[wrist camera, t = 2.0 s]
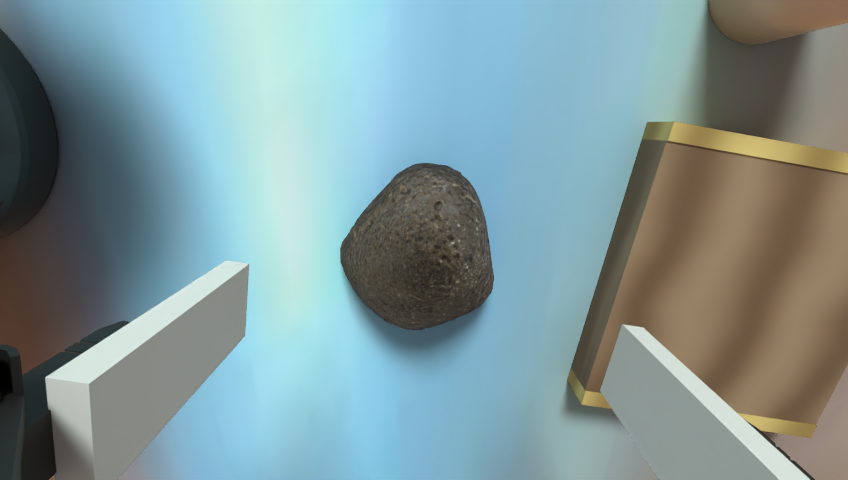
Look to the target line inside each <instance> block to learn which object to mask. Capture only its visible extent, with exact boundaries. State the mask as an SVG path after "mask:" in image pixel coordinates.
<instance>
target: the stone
mask: <svg viewBox="0 0 848 480" xmlns="http://www.w3.org/2000/svg"><path fill="white" fill-rule="evenodd" d="M340 251H341V264H342V267H343V269H344V272H345V275H346V277H347V278H348V280H349V282H350V283H351V285H352V287H353V289H354V290H355V292H356V293H357V294H358V296H359V297H360V299H361V300H362V301H363V302H364V303H365V305H366V306H368V307H369V308H370V309H371V310H372V311H373V312H374V313H375V314H377V315H378V316H379V317H381V318H382V319H384V320H385V321H387V322H388V323H391V324H393V325H396V326H399V327H402V328H405V329H411V330H421V329H425V328H429V327H433V326H437V325H440V324H443V323H445V322H448V321H450V320H453V319H455V318H457V317H459V316H462V315H465V314H467V313H469V312H470V311H472V310H474V309H476V308H478V307H480V306H481V304H482V303H483V302H484V301H485V300H486V299H487V297H488V296H489V295H490V293H491V292H492V289H493V281H494V275H493V269H492V261H491V253H490V246H489V239H488V232H487V226H486V220H485V216H484V213H483V210H482V206H481V203H480V200H479V198H478V195H477V193H476V191H475V189H474V188H473V186H472V185H471V183H470V182H469V181H468V180H467V179H466V178H465V177H464V176H462V174H461V173H460V172H458V171H456V170H454V169H452V168H450V167H448V166H446V165H437V164H431V163H420V164H414V165H412V166H410V167H408V168H406V169H405V170H403V171H401V172H400V173H398V174H397V175H396V176H395V177H394V178H393V179H392V181H391V182H390V183H389V184H388V185H387V186H386V187H385V188H384V189H383V190H382V191H381V192H380V193H379V194H378V195H377V197H376V198H375V199H374V200H373V201H372V202H371V203H370V204H369V205H368V207H367V208H366V209H365V210H364V212H363V213H362V214H361V215H360V217H359V218H358V219H357V221H356V223H355V224H354V226H353V227H352V228H351V230H350V232H349V234H348V235H347V237H346V238H345V239H344V241H343V242H342V245H341V249H340Z"/></svg>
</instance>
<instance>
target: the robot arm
mask: <svg viewBox="0 0 848 480" xmlns="http://www.w3.org/2000/svg"><path fill="white" fill-rule="evenodd" d="M57 153H58V150H57V136H56V129H55V124H54V119H53V116H52V112H51V109H50V106H49V103H48V100H47V98H46V95H45V93H44V90H43V88H42V86H41V84H40V82H39V80H38V78H37V77H36V75H35V73H34V71H33V70H32V68H31V66H30V65H29V63H28V62H27V60H26V59H25V57H24V56H23V55H22V53H21V52H20V51H19V49H18V48H17V47H16V46H15V44H14V43H13V42H12V41H11V40H10V39H9V38H8V36H7V35H6V34H5V33H4V32H3V31H2V30H1V29H0V237H3V236H5V235H7V234H9V233H12V232H13V231H15V230H17V229H19V228H20V227H21V226H23V225H24V224H26V223H27V222H28V221H29V220H30V219H31V218H32V217H33V216H34V215H35V214H36V213H37V212H38V210H39V209H40V208H41V206H42V205H43V203H44V202H45V200H46V198H47V196H48V194H49V192H50V190H51V187H52V184H53V181H54V177H55V172H56V166H57ZM248 273H249V264H246V263H239V262H233V261H227V260H226V261H225V262H223V263H222V264H220V265H218V266H217V267H215V268H214V269H212V270H211V271H209V272H208V273H206V274H205V275H203V276H201V277H200V278H198V279H197V280H195V281H194V282H192V283H191V284H189V285H188V286H186V287H184V288H183V289H181V290H180V291H178V292H177V293H175V294H174V295H172V296H170V297H169V298H167V299H166V300H164V301H163V302H161V303H160V304H158V305H157V306H155V307H153V308H152V309H150V310H149V311H147V312H146V313H144V314H143V315H141V316H140V317H138V318H136V319H135V320H133V321H132V322H128V321H121V322H118V323H115V324H112V325H109V326H106V327H104V328H101V329H98V330H97V331H95V332H93V333H92V334H90V335H88V336H87V337H85V338H84V339H82V340H81V341H80V343H75V344H74V345H72V346H70V347H69V348H67V349H65V352H60V353H59V354H57V355H55V356H54V357H52V358H50V359H49V360H47V361H45V362H44V363H42V364H41V365H39V366H37V367H36V368H34V369H32V370H31V371H29V372H27V373H26V374H24V375H22V371H21V362H20V355H19V353H18V350H17V349H15V348H13V347H10V346H8V345H0V480H49V479H50V478H51V477H52V476H53V475H55V480H118V478H119V477H120V476H121V475H122V474H123V473H124V472H125V471H126V469H127V468H128V467H129V466H130V465H131V464H132V463H133V462H134V460H135V459H136V458H137V457H138V456H139V455H140V454H141V453H142V451H143V450H144V449H145V448H146V447H147V446H148V445H149V444H150V442H151V441H152V440H153V439H154V438H155V437H156V436H157V435H158V433H159V432H160V431H161V430H162V429H163V428H164V427H165V425H166V424H167V423H168V422H169V421H170V420H171V419H172V418H173V416H174V415H175V414H176V413H177V412H178V411H179V410H180V409H181V407H182V406H183V405H184V404H185V403H186V402H187V401H188V400H189V398H190V397H191V396H192V395H193V394H194V393H195V392H196V391H197V389H198V388H199V387H200V386H201V385H202V384H203V383H204V382H205V380H206V379H207V378H208V377H209V376H210V375H211V374H212V373H213V371H214V370H215V369H216V368H217V367H218V366H219V365H220V364H221V362H222V361H223V360H224V359H225V358H226V357H227V356H228V355H229V353H230V352H231V351H232V350H233V349H234V348H235V347H236V346H237V344H238V343H239V342H240V341H241V340H242V339H243V338H244V336H245V327H246V309H247V291H248ZM600 391H601V393H602V394H603V396H604V397H605V399H606V401H607V402H608V404H609V405H610V407H611V408H612V410H613V411H614V413H615V414H616V416H617V417H618V419H619V420H620V422H621V423H622V425H623V426H624V428H625V429H626V431H627V432H628V434H629V435H630V437H631V438H632V440H633V441H634V443H635V444H636V446H637V447H638V449H639V450H640V452H641V453H642V455H643V456H644V458H645V459H646V461H647V462H648V464H649V465H650V467H651V468H652V470H653V471H654V473H655V474H656V476H657V477H658V479H659V480H815V479H814V478H813V477H812V476H810V475H809V474H808V473H807V472H806V471H805V470H804V469H803V468H802V467H800V466H799V465H798V464H797V463H796V462H795V461H793V460H790V457H789V456H788V455H787V454H786V453H785V452H784V451H783V450H782V449H780V448H779V447H776V446H775V443H774V442H773V441H772V440H770V439H769V438H768V437H767V436H766V435H765V434H764V433H763V432H761V431H760V430H759V429H758V428H757V427H755V426H754V425H752V424H751V423H749V422H748V421H746V420H745V419H743V418H742V417H741V416H740V415H739V414H738V413H737V412H735V411H734V410H733V409H732V408H731V407H730V406H729V405H728V404H727V403H726V402H724V401H723V400H722V399H721V398H720V397H719V396H718V395H717V394H716V393H715V392H713V391H712V390H711V389H710V388H709V387H708V386H707V385H706V384H705V383H704V382H702V381H701V380H700V379H699V378H698V377H697V376H696V375H695V374H694V373H693V372H691V371H690V370H689V369H688V368H687V367H686V366H685V365H684V364H683V363H682V362H680V361H679V360H678V359H677V358H676V357H675V356H674V355H673V354H672V353H671V352H669V351H668V350H667V349H666V348H665V347H664V346H663V345H662V344H661V343H660V342H658V341H657V340H656V339H655V338H654V337H653V336H652V335H651V334H650V333H649V332H648V331H646V330H645V329H644V328H643V327H637V326H630V325H624V324H622V326H621V329H620V332H619V335H618V338H617V341H616V344H615V347H614V350H613V353H612V356H611V359H610V362H609V365H608V368H607V371H606V374H605V377H604V380H603V383H602V386H601V389H600Z"/></svg>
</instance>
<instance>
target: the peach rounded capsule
mask: <svg viewBox="0 0 848 480" xmlns="http://www.w3.org/2000/svg"><path fill="white" fill-rule="evenodd" d="M708 2H709V9H710V13H711V16H712V19H713V21H714V23H715V25H716V26H717V28H718V29H719V30H720V31H721V32H722V33H723V34H724V35H725V36H726V37H728V38H729V39H731V40H733V41H735V42H738V43H741V44H748V45H757V44H763V43H767V42H771V41H775V40H779V39H783V38H787V37H791V36H796V35H800V34H804V33H808V32H812V31H816V30H820V29H824V28H828V27H832V26H836V25H841V24H845V23H848V0H708Z"/></svg>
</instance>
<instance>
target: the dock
mask: <svg viewBox="0 0 848 480" xmlns="http://www.w3.org/2000/svg"><path fill="white" fill-rule="evenodd" d="M622 324H624V325H630V326H637V327H643V328H644V329H645V330H646V331H648V332H649V333H650V334H651V335H652V336H653V337H654V338H655V339H656V340H657V341H658V342H660V343H661V344H662V345H663V346H664V347H665V348H666V349H667V350H668V351H669V352H671V353H672V354H673V355H674V356H675V357H676V358H677V359H678V360H679V361H680V362H682V363H683V364H684V365H685V366H686V367H687V368H688V369H689V370H690V371H691V372H693V373H694V374H695V375H696V376H697V377H698V378H699V379H700V380H701V381H702V382H704V383H705V384H706V385H707V386H708V387H709V388H710V389H711V390H712V391H713V392H715V393H716V394H717V395H718V396H719V397H720V398H721V399H722V400H723V401H724V402H726V403H727V404H728V405H729V406H730V407H731V408H732V409H733V410H734V411H735V412H737V413H738V414H739V415H740V416H741V417H742V418H743V419H745V420H746V421H748V422H749V423H751V424H752V425H754V426H755V427H757V428H758V429H759V430H760V431H767V432H773V433H780V434H787V435H794V436H801V437H808V438H811V437H812V435H813V433H814V431H815V429H816V427H817V425H816V423H817V421H818V420H819V418H820V416H821V414H822V412H823V410H824V408H825V406H826V404H827V402H828V401H829V399H830V397H831V395H832V393H833V391H834V389H835V387H836V385H837V383H838V382H839V380H840V378H841V376H842V374H843V372H844V370H845V368H846V366H847V364H848V153H843V152H837V151H832V150H826V149H821V148H815V147H810V146H804V145H799V144H794V143H788V142H783V141H777V140H772V139H766V138H761V137H755V136H750V135H745V134H739V133H734V132H728V131H723V130H717V129H712V128H706V127H701V126H696V125H690V124H685V123H679V122H648V123H647V126H646V129H645V132H644V136H643V139H642V142H641V145H640V148H639V152H638V155H637V158H636V161H635V165H634V168H633V171H632V174H631V177H630V181H629V184H628V187H627V190H626V194H625V197H624V200H623V203H622V206H621V210H620V213H619V216H618V219H617V222H616V226H615V229H614V232H613V235H612V239H611V242H610V245H609V248H608V251H607V255H606V258H605V261H604V264H603V268H602V271H601V274H600V277H599V280H598V284H597V287H596V290H595V293H594V297H593V300H592V303H591V306H590V309H589V313H588V316H587V319H586V322H585V325H584V329H583V332H582V335H581V338H580V342H579V345H578V348H577V351H576V354H575V358H574V361H573V364H572V367H571V371H570V374H569V377H568V382H569V384H570V386H571V387H572V389H573V391H574V393H575V394H576V396H577V398H578V400H579V401H580V403H581V405H587V406H594V407H601V408H608V409H612V408H611V407H610V405H609V404H608V402H607V401H606V399H605V397H604V396H603V394H602V393H601V391H600V389H601V386H602V383H603V380H604V377H605V374H606V371H607V368H608V365H609V362H610V359H611V356H612V353H613V350H614V347H615V344H616V341H617V338H618V335H619V332H620V329H621V326H622Z"/></svg>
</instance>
